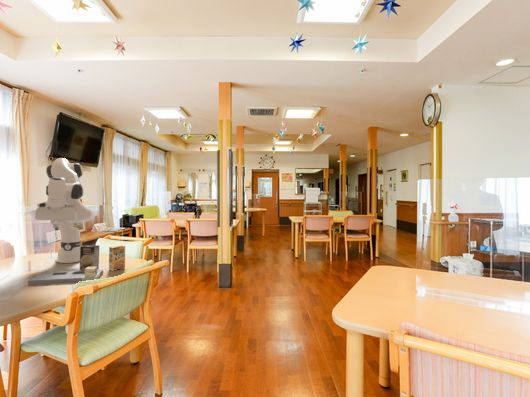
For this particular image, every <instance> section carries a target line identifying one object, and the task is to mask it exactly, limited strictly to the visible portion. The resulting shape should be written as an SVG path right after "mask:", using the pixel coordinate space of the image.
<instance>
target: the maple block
mask: <svg viewBox="0 0 530 397" xmlns="http://www.w3.org/2000/svg"><path fill="white" fill-rule="evenodd" d="M96 275H97V267H87V268H86V269H85V277H95V276H96Z"/></svg>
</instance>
